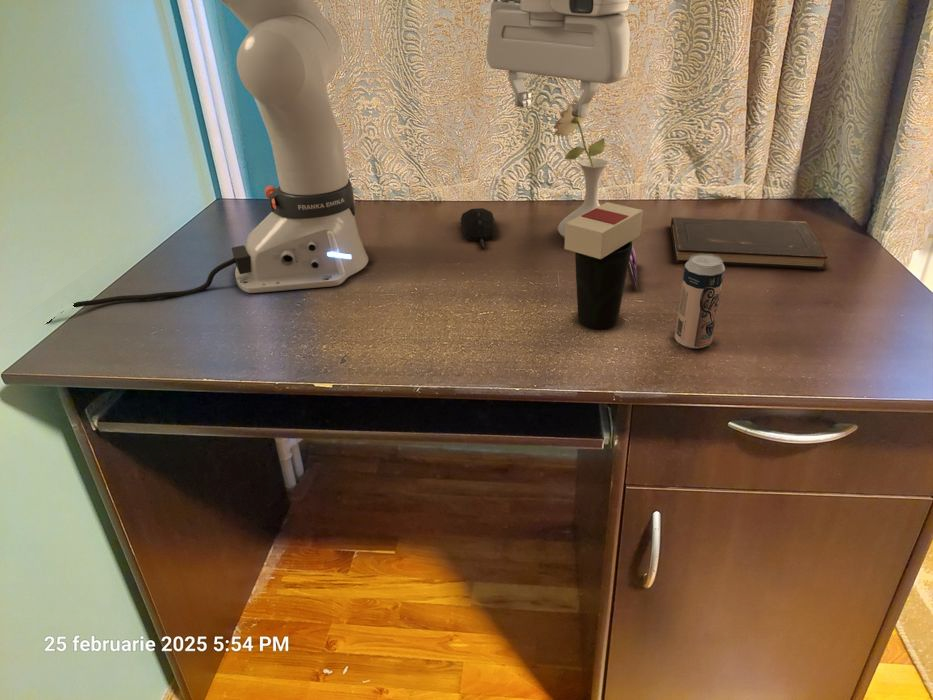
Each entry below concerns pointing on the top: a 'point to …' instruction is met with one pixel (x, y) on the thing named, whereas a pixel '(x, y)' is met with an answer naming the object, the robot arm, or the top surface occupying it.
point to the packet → (603, 230)
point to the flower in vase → (582, 163)
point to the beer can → (699, 300)
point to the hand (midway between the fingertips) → (550, 111)
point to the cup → (601, 287)
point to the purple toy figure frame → (633, 272)
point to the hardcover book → (748, 242)
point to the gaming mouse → (478, 225)
